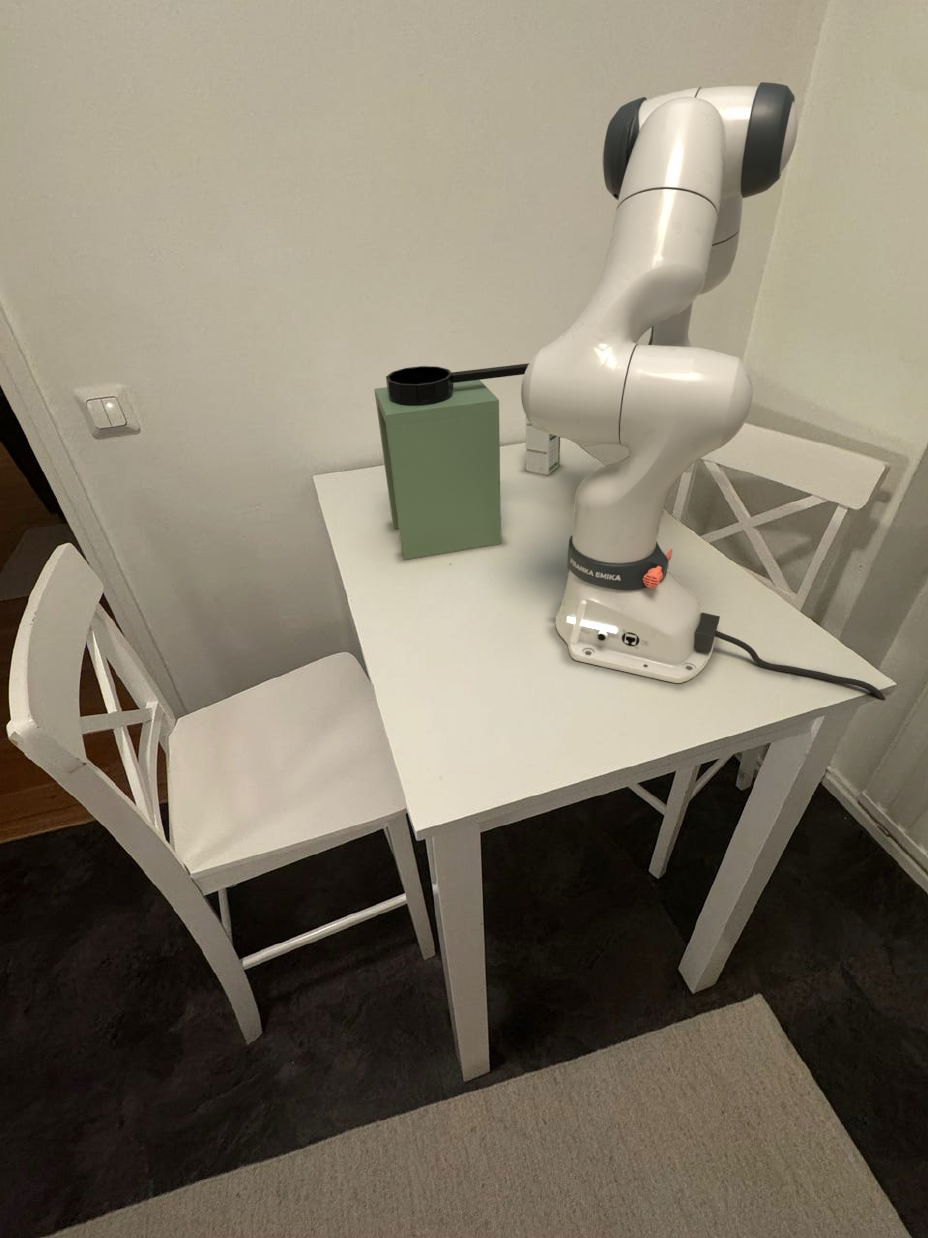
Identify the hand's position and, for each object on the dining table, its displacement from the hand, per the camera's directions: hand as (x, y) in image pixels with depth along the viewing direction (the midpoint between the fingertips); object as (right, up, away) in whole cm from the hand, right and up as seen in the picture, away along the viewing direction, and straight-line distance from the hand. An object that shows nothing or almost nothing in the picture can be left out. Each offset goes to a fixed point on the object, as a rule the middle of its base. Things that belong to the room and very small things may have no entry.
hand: (556, 382), depth 103 cm
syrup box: (+2, -6, +33) cm, 34 cm away
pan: (-15, -2, -3) cm, 16 cm away
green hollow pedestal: (-19, -24, +12) cm, 33 cm away
